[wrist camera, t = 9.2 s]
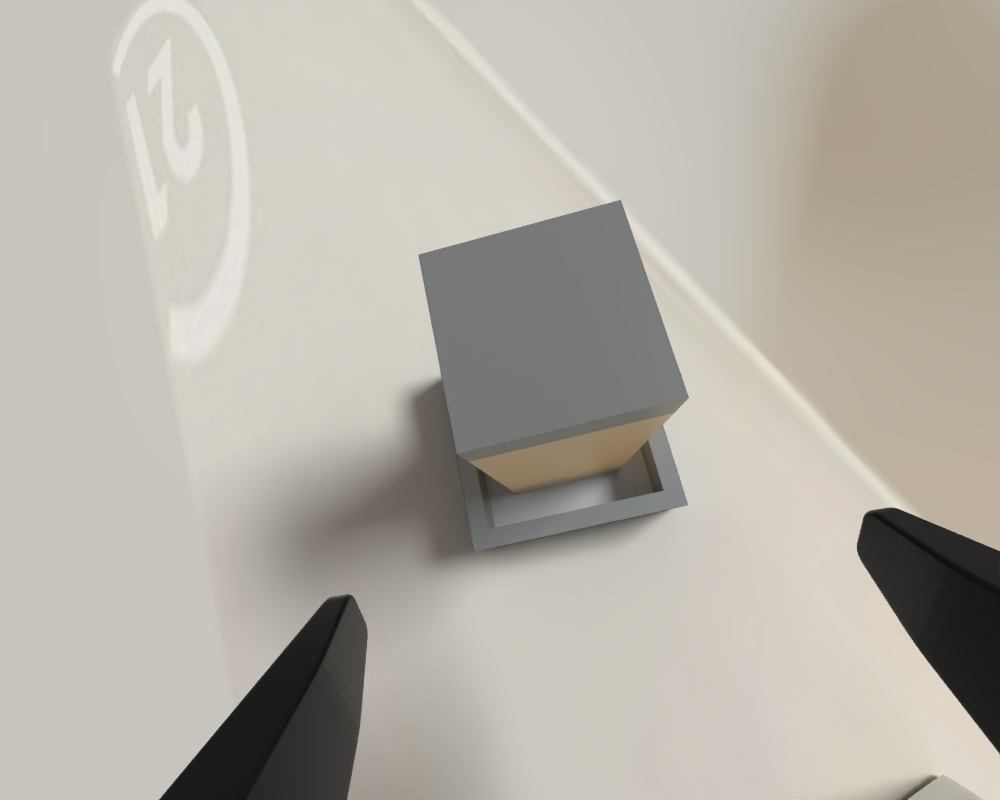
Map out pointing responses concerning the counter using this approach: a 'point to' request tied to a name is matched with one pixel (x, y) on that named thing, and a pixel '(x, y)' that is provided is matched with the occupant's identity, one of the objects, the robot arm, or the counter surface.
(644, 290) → the plug
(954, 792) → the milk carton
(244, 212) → the counter surface
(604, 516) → the socket collar
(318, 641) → the robot arm
